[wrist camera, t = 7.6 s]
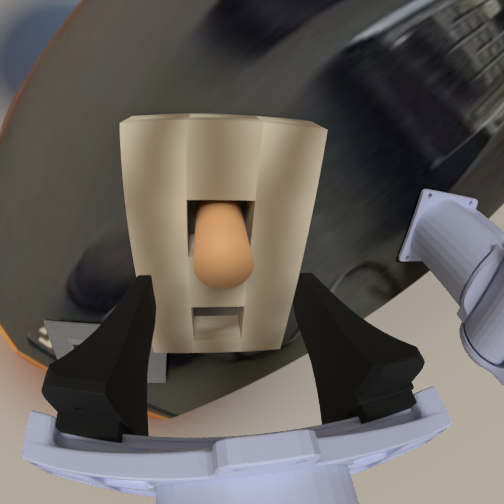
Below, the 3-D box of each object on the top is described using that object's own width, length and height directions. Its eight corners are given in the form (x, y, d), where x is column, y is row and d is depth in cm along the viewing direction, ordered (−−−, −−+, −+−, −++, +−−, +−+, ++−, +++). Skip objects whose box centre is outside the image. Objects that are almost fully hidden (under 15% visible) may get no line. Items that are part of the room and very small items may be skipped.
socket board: (309, 120, 18) (327, 129, 16) (273, 322, 30) (280, 348, 27) (134, 114, 16) (119, 123, 14) (157, 325, 28) (154, 352, 25)
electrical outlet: (166, 313, 28) (168, 331, 27) (164, 369, 34) (166, 384, 32) (47, 307, 24) (43, 324, 22) (67, 365, 29) (66, 380, 27)
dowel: (242, 189, 20) (257, 241, 15) (237, 228, 22) (249, 289, 16) (197, 187, 20) (193, 239, 14) (195, 226, 21) (192, 288, 16)
